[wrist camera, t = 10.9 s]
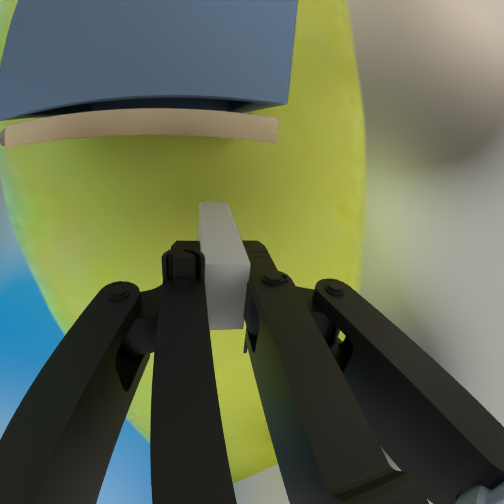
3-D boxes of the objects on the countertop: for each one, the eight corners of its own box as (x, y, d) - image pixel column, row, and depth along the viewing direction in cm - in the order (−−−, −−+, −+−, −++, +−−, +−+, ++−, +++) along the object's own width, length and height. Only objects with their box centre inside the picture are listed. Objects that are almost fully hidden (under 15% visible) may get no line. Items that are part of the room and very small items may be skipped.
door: (72, 120, 18) (-5, 128, 8) (241, 120, 21) (279, 118, 11) (72, 133, 18) (-5, 150, 9) (239, 134, 22) (275, 143, 12)
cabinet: (103, 1, 13) (48, -62, 2) (254, -1, 16) (303, -79, 5) (84, 116, 19) (-6, 121, 7) (240, 113, 22) (287, 104, 10)
